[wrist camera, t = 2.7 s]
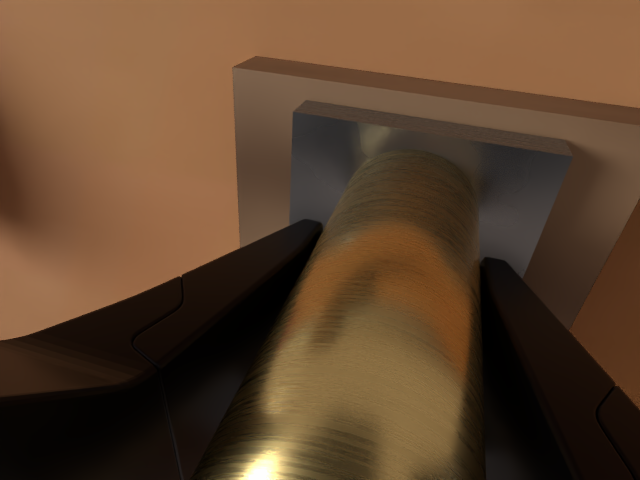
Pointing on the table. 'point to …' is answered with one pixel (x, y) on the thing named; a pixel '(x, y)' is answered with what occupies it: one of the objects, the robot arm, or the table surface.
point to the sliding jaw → (387, 299)
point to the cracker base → (464, 108)
